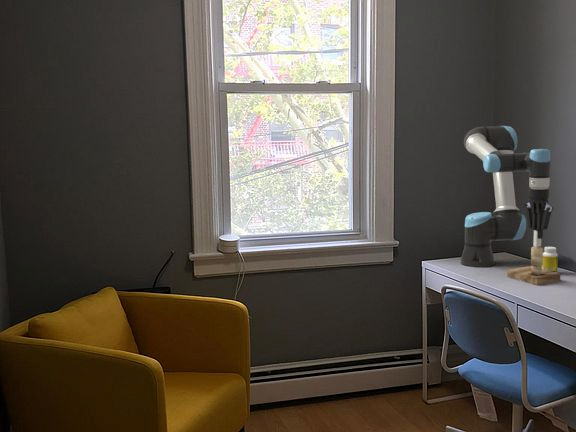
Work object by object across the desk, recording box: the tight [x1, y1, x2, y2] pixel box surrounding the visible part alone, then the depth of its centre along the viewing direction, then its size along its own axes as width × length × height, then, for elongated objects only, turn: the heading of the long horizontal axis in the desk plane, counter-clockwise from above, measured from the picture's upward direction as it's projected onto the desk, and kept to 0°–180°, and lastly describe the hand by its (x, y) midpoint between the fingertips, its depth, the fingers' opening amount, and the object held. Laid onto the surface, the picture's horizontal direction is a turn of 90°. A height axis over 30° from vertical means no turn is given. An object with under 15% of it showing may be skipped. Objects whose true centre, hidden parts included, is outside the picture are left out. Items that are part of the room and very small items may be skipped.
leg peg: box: [530, 246, 544, 276], centre depth 251 cm, size 4×4×14 cm
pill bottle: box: [542, 246, 559, 273], centre depth 264 cm, size 6×6×11 cm
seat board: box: [506, 265, 561, 286], centre depth 256 cm, size 16×13×3 cm
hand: (537, 246), depth 250 cm, fingers closed
